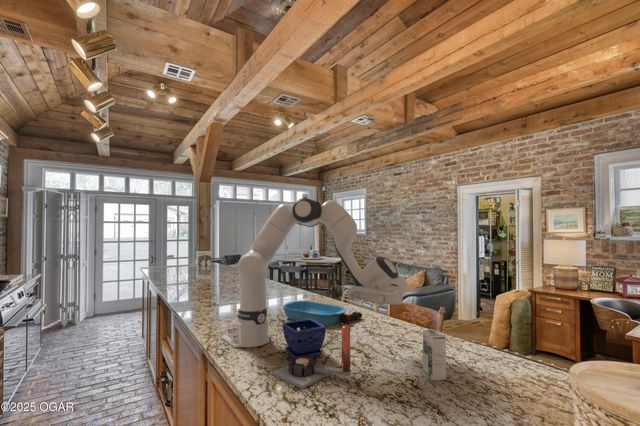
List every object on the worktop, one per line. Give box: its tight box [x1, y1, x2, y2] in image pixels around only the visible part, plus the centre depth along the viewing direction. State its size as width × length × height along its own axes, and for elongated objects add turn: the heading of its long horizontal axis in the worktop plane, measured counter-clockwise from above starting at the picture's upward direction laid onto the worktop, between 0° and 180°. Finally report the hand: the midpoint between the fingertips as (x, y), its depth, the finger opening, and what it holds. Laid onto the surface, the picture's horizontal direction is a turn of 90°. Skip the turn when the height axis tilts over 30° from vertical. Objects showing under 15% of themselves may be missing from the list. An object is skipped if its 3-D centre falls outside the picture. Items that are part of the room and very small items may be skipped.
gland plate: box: [272, 358, 331, 390], centre depth 106 cm, size 14×14×4 cm
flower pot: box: [282, 319, 327, 359], centre depth 123 cm, size 13×13×12 cm
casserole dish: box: [282, 300, 347, 327], centre depth 173 cm, size 37×22×7 cm, turn 57°
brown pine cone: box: [339, 311, 363, 325], centre depth 169 cm, size 6×5×15 cm
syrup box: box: [422, 329, 447, 381], centre depth 105 cm, size 6×6×14 cm
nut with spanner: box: [287, 324, 352, 377], centre depth 105 cm, size 21×9×16 cm, turn 74°
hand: (361, 298), depth 110 cm, fingers open, 8 cm apart
